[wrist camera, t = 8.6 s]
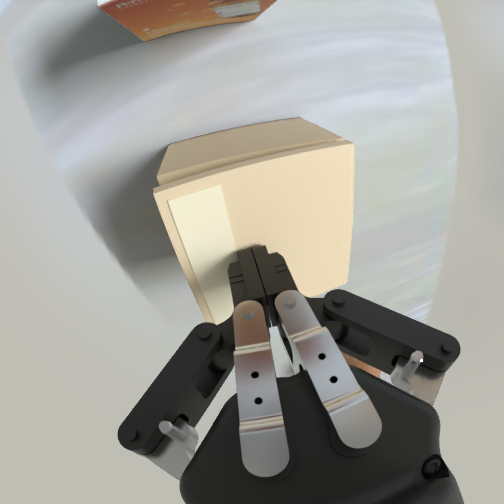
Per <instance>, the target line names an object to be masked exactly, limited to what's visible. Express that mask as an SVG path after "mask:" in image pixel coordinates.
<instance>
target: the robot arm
mask: <svg viewBox="0 0 504 504" xmlns="http://www.w3.org/2000/svg"><path fill="white" fill-rule="evenodd" d="M252 253H253V254H252ZM238 256H239V260H240V261H238V262H233V263H230V265H229V268H228V270H227V272H228V277H229V283H230V288H231V294H232V299H233V305H234V310H233V313H232V315H231V316H230V317H229V318H228V319H227V320H225V321H224V322H222V323H220V324H218V325H216V324H214V323H210V322H205V323H201V324H199V325H197V326H196V327H195V328H194V329H193V330H192V331H191V333H190V334H189V335H188V336H187V338H186V339H185V340H184V342H183V343H182V344H181V346H180V347H179V349H178V350H177V351H176V353H175V354H174V355H173V356H172V358H171V359H170V361H169V362H168V363H167V364H166V366H165V367H164V368H163V370H162V371H161V372H160V374H159V375H158V376H157V378H156V379H155V380H154V382H153V383H152V384H151V386H150V387H149V388H148V390H147V391H146V392H145V394H144V395H143V396H142V398H141V399H140V400H139V402H138V403H137V404H136V406H135V407H134V408H133V409H132V411H131V412H130V413H129V415H128V416H127V417H126V419H125V420H124V421H123V423H122V424H121V425H120V427H119V429H118V440H119V441H120V444H121V445H122V446H123V447H124V448H126V449H128V450H130V451H133V452H135V453H136V454H138V455H141V456H143V457H146V458H148V459H149V460H151V461H152V462H153V463H155V464H156V465H157V466H159V467H160V468H162V469H163V470H164V471H166V472H167V473H169V474H170V475H172V476H173V477H175V478H176V479H178V480H180V493H181V496H182V498H183V500H184V502H185V503H186V504H464V502H463V498H462V496H461V493H460V490H459V487H458V484H457V482H456V479H455V477H454V476H453V474H452V473H451V471H450V470H449V468H448V467H447V466H446V464H445V462H444V461H443V459H442V457H441V454H440V448H439V435H440V420H439V416H438V414H437V412H436V410H435V409H434V408H433V407H432V406H433V404H434V401H435V399H436V396H437V394H438V391H439V389H440V386H441V383H442V381H443V378H444V375H445V372H446V371H447V370H448V369H449V368H450V366H451V365H452V364H453V363H454V362H455V360H456V359H457V358H458V356H459V354H460V345H459V342H458V341H457V339H456V338H455V337H453V336H451V335H449V334H447V333H444V332H442V331H440V330H437V329H435V328H432V327H430V326H428V325H425V324H423V323H421V322H418V321H416V320H414V319H411V318H409V317H407V316H404V315H402V314H399V313H397V312H395V311H392V310H390V309H388V308H385V307H383V306H380V305H378V304H376V303H373V302H371V301H369V300H366V299H364V298H362V297H359V296H357V295H354V294H352V293H350V292H347V291H345V290H341V289H336V290H332V291H330V292H328V293H327V294H326V295H325V297H324V298H310V297H306V296H304V295H303V294H302V293H300V292H299V290H298V288H297V286H296V284H295V282H294V279H293V277H292V275H291V273H290V270H289V268H288V266H287V264H286V261H285V259H284V257H283V256H282V255H280V254H279V253H278V252H274V253H270V254H269V253H268V251H267V248H266V246H265V245H263V246H258V247H254V248H252V251H251V248H250V249H246V250H242V251H238ZM269 316H270V317H269ZM270 320H271V323H272V326H273V327H274V326H277V327H278V330H279V334H280V339H281V342H282V344H283V347H284V349H285V351H286V354H287V356H288V358H289V361H290V363H291V366H292V368H293V371H294V375H293V376H291V377H280V378H277V377H276V371H275V366H274V361H273V355H272V350H271V344H270V333H269V328H270V327H271V323H270ZM340 351H342V352H344V353H346V354H348V355H350V356H352V357H354V358H356V359H358V360H360V361H362V362H364V363H366V364H368V365H370V366H372V367H374V368H376V369H379V370H381V371H383V372H385V373H387V374H389V375H391V381H392V383H393V385H394V386H393V385H391V384H389V383H388V382H386V381H384V380H382V379H380V378H378V377H376V376H374V375H372V374H370V373H368V372H366V371H365V370H363V369H361V368H359V367H356V366H353V365H349V364H347V362H346V361H345V359H344V357H343V355H342V353H341V352H340ZM234 365H235V377H236V388H237V393H236V394H235V395H233V396H232V397H231V398H230V399H229V400H228V401H227V402H226V403H225V405H224V406H223V408H222V410H221V411H220V413H219V415H218V416H217V418H216V420H215V421H214V423H213V425H212V427H211V428H210V430H209V431H208V433H207V435H206V436H205V438H204V440H203V441H202V443H201V445H200V446H199V448H198V449H197V451H196V453H195V447H196V445H197V443H198V433H197V431H196V430H195V426H196V424H197V423H198V422H199V420H200V419H201V417H202V416H203V414H204V412H205V411H206V409H207V408H208V406H209V405H210V403H211V402H212V400H213V399H214V397H215V396H216V394H217V393H218V391H219V390H220V388H221V386H222V385H223V383H224V382H225V380H226V379H227V377H228V375H229V374H230V372H231V371H232V369H233V367H234Z"/></svg>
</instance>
